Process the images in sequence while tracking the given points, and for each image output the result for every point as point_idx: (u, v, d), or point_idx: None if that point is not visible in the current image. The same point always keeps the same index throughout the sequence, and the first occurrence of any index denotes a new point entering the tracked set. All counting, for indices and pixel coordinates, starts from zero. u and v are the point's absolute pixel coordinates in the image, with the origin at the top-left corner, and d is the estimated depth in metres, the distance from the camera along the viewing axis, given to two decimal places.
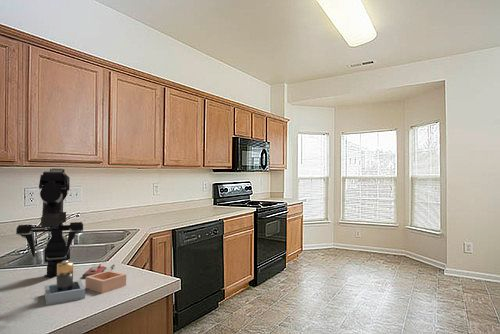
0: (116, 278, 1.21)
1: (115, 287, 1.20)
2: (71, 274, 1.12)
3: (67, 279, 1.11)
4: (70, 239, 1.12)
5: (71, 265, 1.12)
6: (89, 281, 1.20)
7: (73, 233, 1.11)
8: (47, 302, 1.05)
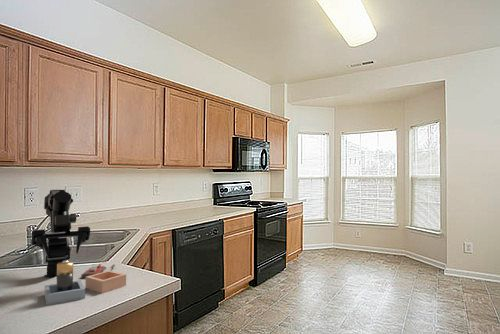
0: (116, 278, 1.21)
1: (115, 287, 1.20)
2: (71, 274, 1.12)
3: (67, 279, 1.11)
4: (79, 240, 1.24)
5: (71, 265, 1.12)
6: (89, 281, 1.20)
7: (82, 234, 1.25)
8: (47, 302, 1.05)
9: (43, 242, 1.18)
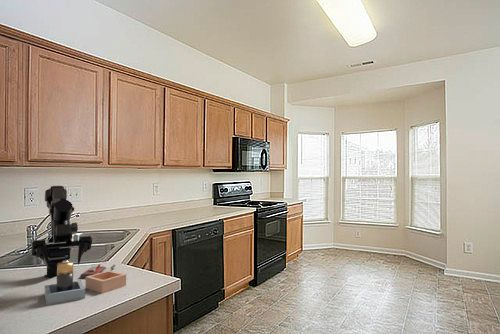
0: (116, 278, 1.21)
1: (115, 287, 1.20)
2: (71, 274, 1.12)
3: (67, 279, 1.11)
4: (81, 250, 1.21)
5: (71, 265, 1.12)
6: (89, 281, 1.20)
7: (84, 243, 1.22)
8: (47, 302, 1.05)
9: (43, 253, 1.15)
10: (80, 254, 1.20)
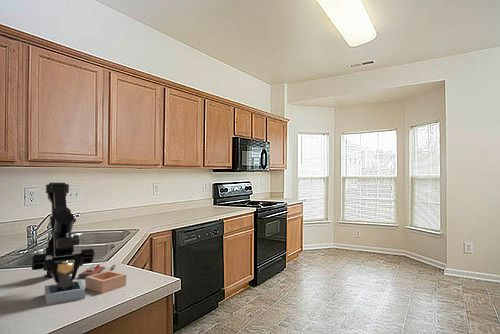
0: (116, 278, 1.21)
1: (115, 287, 1.20)
2: (71, 274, 1.12)
3: (67, 279, 1.11)
4: (76, 264, 1.16)
5: (71, 265, 1.12)
6: (89, 281, 1.20)
7: (79, 258, 1.16)
8: (47, 302, 1.05)
9: (51, 266, 1.12)
10: (75, 269, 1.15)
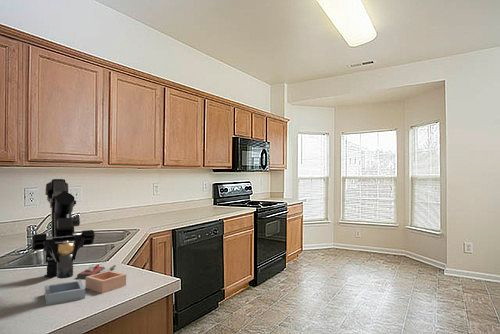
0: (116, 278, 1.21)
1: (115, 287, 1.20)
2: (71, 254, 1.13)
3: (67, 259, 1.11)
4: (77, 245, 1.16)
5: (71, 245, 1.13)
6: (89, 281, 1.20)
7: (79, 238, 1.17)
8: (47, 302, 1.05)
9: (52, 246, 1.12)
10: (76, 249, 1.15)
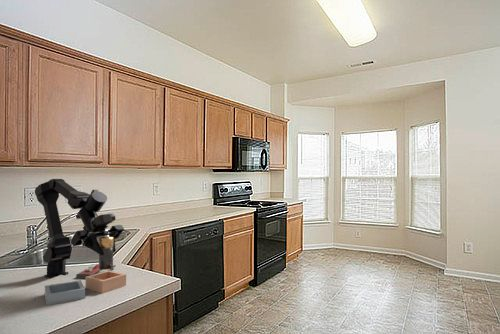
0: (116, 278, 1.21)
1: (115, 287, 1.20)
2: None
3: (111, 251, 1.22)
4: None
5: (113, 239, 1.23)
6: (89, 281, 1.20)
7: (114, 233, 1.27)
8: (47, 302, 1.05)
9: (94, 241, 1.20)
10: (113, 243, 1.26)
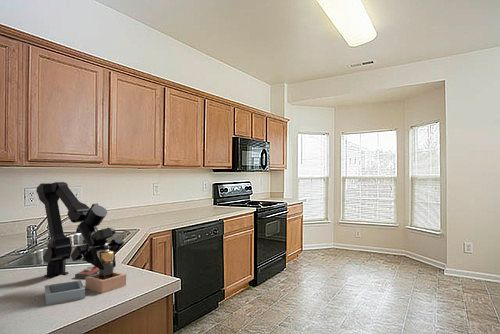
0: (116, 278, 1.21)
1: (115, 287, 1.20)
2: None
3: (111, 266, 1.22)
4: None
5: (113, 253, 1.24)
6: (89, 281, 1.20)
7: (114, 246, 1.27)
8: (47, 302, 1.05)
9: (95, 256, 1.20)
10: None
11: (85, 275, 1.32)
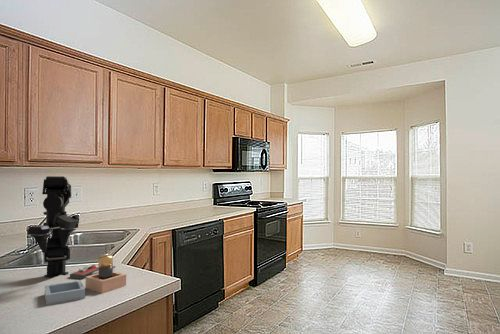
0: (116, 278, 1.21)
1: (115, 287, 1.20)
2: (112, 265, 1.23)
3: (110, 270, 1.22)
4: (68, 235, 1.34)
5: (112, 257, 1.23)
6: (89, 281, 1.20)
7: (72, 230, 1.34)
8: (47, 302, 1.05)
9: (44, 239, 1.22)
10: (67, 239, 1.33)
11: (78, 275, 1.32)
